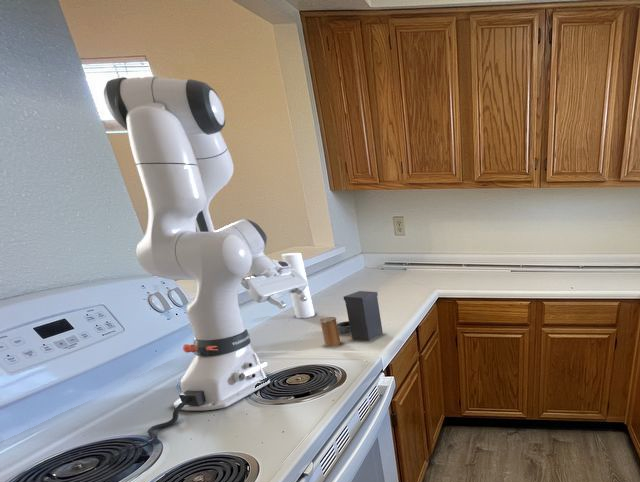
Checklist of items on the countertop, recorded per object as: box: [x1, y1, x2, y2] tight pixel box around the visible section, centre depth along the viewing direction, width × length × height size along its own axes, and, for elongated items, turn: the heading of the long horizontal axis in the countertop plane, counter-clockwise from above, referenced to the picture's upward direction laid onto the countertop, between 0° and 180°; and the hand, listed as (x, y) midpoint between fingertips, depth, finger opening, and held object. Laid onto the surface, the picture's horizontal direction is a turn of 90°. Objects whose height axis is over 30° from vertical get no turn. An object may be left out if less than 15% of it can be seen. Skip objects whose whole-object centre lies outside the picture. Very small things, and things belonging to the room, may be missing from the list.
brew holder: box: [337, 320, 351, 335], centre depth 151 cm, size 7×7×3 cm
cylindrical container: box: [281, 252, 316, 319], centre depth 169 cm, size 7×7×25 cm
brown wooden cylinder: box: [318, 316, 341, 347], centre depth 137 cm, size 5×5×9 cm
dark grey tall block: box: [343, 290, 384, 342], centre depth 142 cm, size 8×7×15 cm
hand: (294, 303), depth 137 cm, fingers open, 8 cm apart
